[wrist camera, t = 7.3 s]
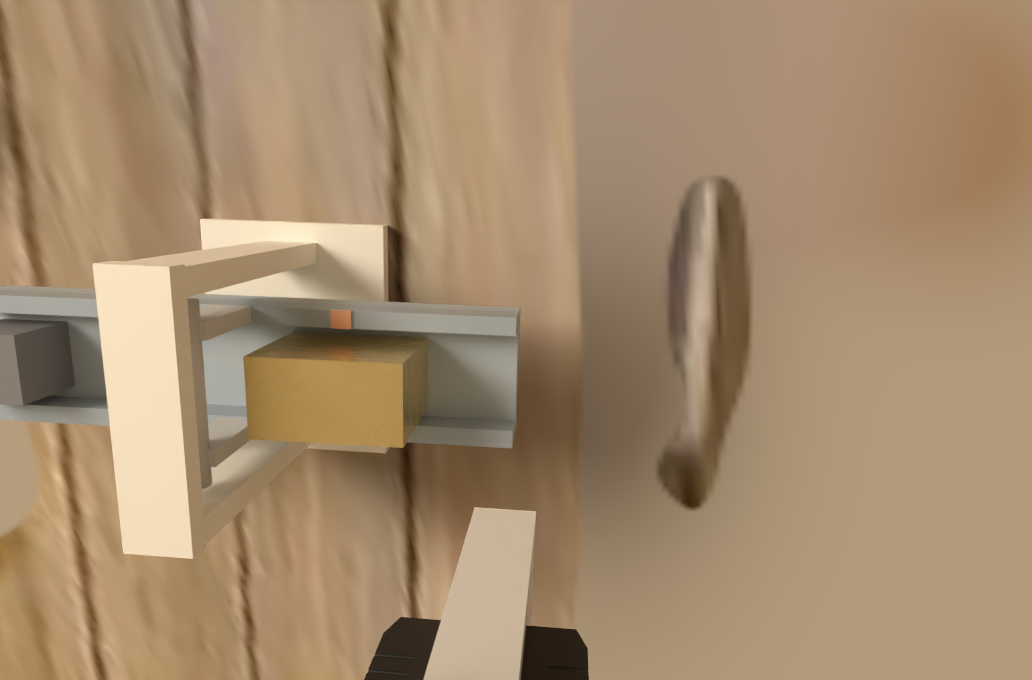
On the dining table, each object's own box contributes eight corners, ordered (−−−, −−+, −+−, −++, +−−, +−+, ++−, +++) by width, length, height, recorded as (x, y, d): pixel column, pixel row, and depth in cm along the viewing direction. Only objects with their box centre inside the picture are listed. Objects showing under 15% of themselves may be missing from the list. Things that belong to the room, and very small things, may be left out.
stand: (209, 218, 40) (-12, 232, 25) (387, 225, 39) (271, 243, 24) (223, 437, 43) (35, 567, 28) (390, 447, 42) (288, 587, 27)
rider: (293, 331, 34) (243, 356, 29) (428, 337, 34) (402, 364, 28) (296, 401, 35) (248, 439, 29) (428, 408, 34) (403, 447, 29)
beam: (6, 269, 36) (-147, 289, 28) (521, 290, 34) (509, 318, 26) (26, 416, 38) (-112, 472, 30) (515, 443, 36) (503, 510, 28)
